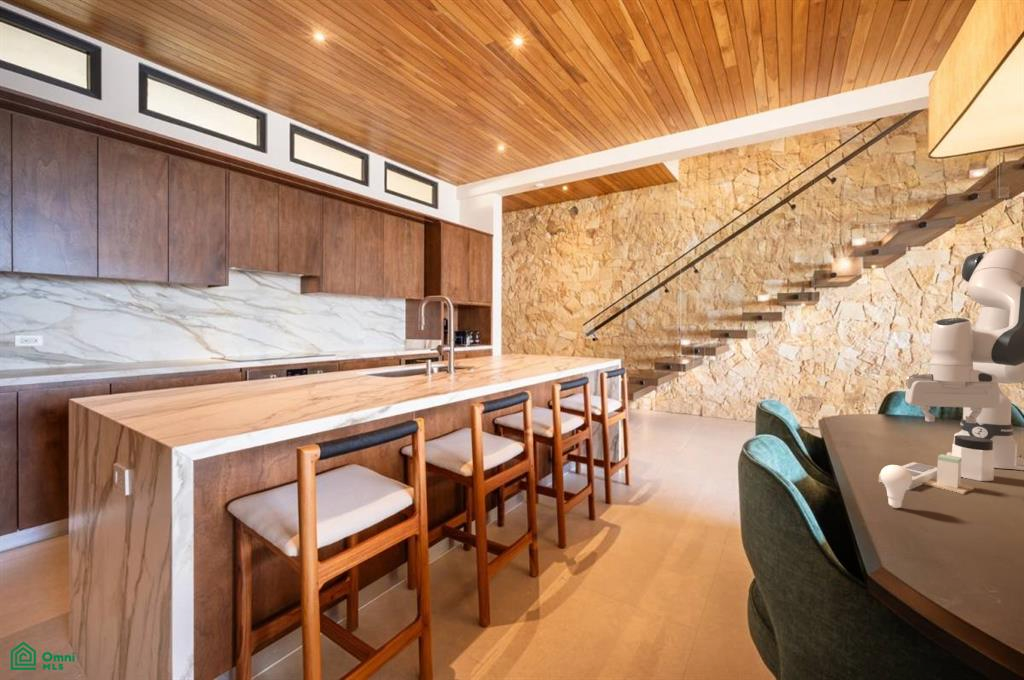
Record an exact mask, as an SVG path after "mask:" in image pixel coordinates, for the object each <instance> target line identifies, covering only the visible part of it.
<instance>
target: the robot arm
mask: <svg viewBox="0 0 1024 680" xmlns="http://www.w3.org/2000/svg"><path fill="white" fill-rule="evenodd" d="M960 273H961V274H960V275H961V277H962V279H963V280H964V281H965V282H966V283H967V287H966V292H967V294H968V295H969V298H970V299H971V300H973V301H974V302H975V303H978V304H980V307H979V311H978V315H977V318H976V322H975V326H974V329H973V327H972V324H971V321H970V319H968V318H961V317H953V318H952V317H951V318H943V319H939V320H936V321H934V322H933V324H932V328H931V331H930V336H929V337H930V338H929V351H930V355H931V356H930V357H931V358H930V361H929V371H928V372H929V374H928V373H927V374H926V373H923V374H918V373H916V374H915V373H914V374H912V375H909V376H907V378H906V380H905V386H906V390H905V395H904V401H905V403H906V404H908V405H909V406H912V407H913V406H914V407H919V408H920V410H921V411H922V413H923V414H924V420H925V421H926V422H929V423H931V422H932V423H934V422H935V421H936V416H935V415H933V414H931V413H930V411H931V407H941V408H945V407H946V408H962V418H961V419H960V423H959V424H960V429H961V430H960V431H958V432H956V433H954V436H953V443H952V444H954V441H955V436H957V435H965V436H974V437H981V438H986V439H989V440H992V441H993V450H995V457H994V469H1003V470H1006V469H1007V470H1016V471H1017V470H1018V471H1024V458H1022V454H1021V453H1018V442H1017V441H1016V440H1015V438H1014V437H1013V435H1014V428H1013V424H1012V400H1010V398H1009V397H1008V396H1007V395H1006V394H1004V393H1003V391H1002V389H1001V387H1000V386H999V384H1007V385H1008V384H1009V385H1010V384H1012V385H1013V384H1022V383H1023V384H1024V250H1018V249H1015V248H1012V247H1011V248H1009V247H1008V248H1007V247H1006V248H1004V247H1003V248H997V249H994V250H992V251H990V252H985V251H981V252H974V253H972V254H970V255H968V256H967V257H966V258H965V260H964V261H963V262H962V264H961V268H960ZM946 455H949V456H952V451H948V452H946Z"/></svg>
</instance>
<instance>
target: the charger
mask: <svg viewBox="0 0 1024 680" xmlns="http://www.w3.org/2000/svg"><path fill="white" fill-rule="evenodd" d="M936 467H937V484H941V485H946V486H950V487H955V488H958V487H959V486H960V483H961V482H962V481H961V480H962V479H961V457H955V456H949V455H947V454H943V453H941V454H939V455H938V456H937V466H936Z"/></svg>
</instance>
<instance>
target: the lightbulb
mask: <svg viewBox="0 0 1024 680" xmlns="http://www.w3.org/2000/svg"><path fill="white" fill-rule="evenodd" d="M902 466H903V465H897V464H889V465H886V466H884V467H883V468H882V469H881V471H880V473H879V474H880V477H881V480H882V482H883V483H882V484H883V485H884V487H885V489H886V496H887V500H888V501H887V502H888V505H889V506H890V507H892V509H893V508H894V509H898V508H902V505H903V500H904V497H905V493H906V491H908V490H907V489H908V488H909V487H910V485H911V484H912V476H911V474H910V472H909V471H908V470H907V469H905V468H904V467H902Z"/></svg>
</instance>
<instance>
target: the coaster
mask: <svg viewBox="0 0 1024 680" xmlns="http://www.w3.org/2000/svg"><path fill="white" fill-rule="evenodd" d="M922 485H925V486H928V487H931V486H932V487H933V488H936V489H940V488H941V490H944V489H945V490H944V491H948V490H949V491H948V492H952V491H953V493H956V492H957V494H959V495H960V494H961V495H965V494H968V493H969V492H971V491H973V490H975V489H976V486H973V485H969V484H965V483H961V482H960V486H959V487H958V488H955V487H950V486H946V485H941V484H937V478H936V477H935V478H932V479H930V480H927V481H925V482H923V484H922Z"/></svg>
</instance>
